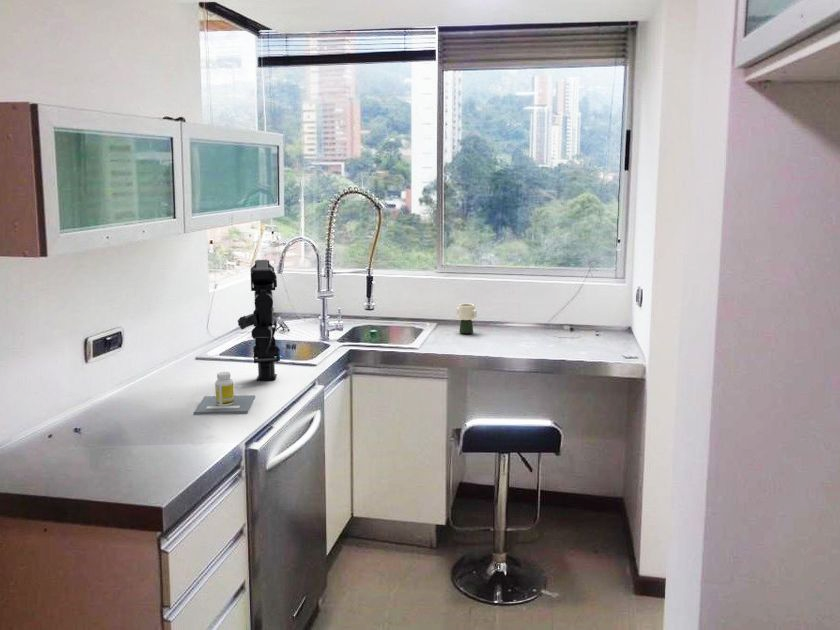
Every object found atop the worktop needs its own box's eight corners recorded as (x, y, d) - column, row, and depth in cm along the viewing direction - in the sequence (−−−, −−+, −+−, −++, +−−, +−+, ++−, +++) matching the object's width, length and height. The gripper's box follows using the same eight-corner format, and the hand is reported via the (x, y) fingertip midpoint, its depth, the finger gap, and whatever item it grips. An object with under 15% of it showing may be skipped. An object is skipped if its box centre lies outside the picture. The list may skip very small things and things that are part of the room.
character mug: (480, 333, 343) (481, 305, 340) (471, 336, 338) (471, 307, 335) (461, 330, 350) (461, 302, 347) (451, 332, 345) (452, 304, 342)
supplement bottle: (237, 402, 241) (235, 371, 239) (228, 407, 236) (226, 376, 234) (222, 400, 243) (220, 370, 241) (212, 405, 238) (211, 375, 236)
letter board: (204, 398, 248) (204, 396, 248) (254, 397, 249) (254, 394, 249) (194, 414, 232) (193, 411, 232) (247, 413, 233) (247, 410, 233)
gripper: (243, 301, 260) (245, 346, 263) (234, 311, 242) (236, 360, 245) (276, 301, 261) (278, 346, 264) (270, 311, 243) (271, 359, 245)
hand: (265, 352), depth 254 cm, fingers open, 9 cm apart
